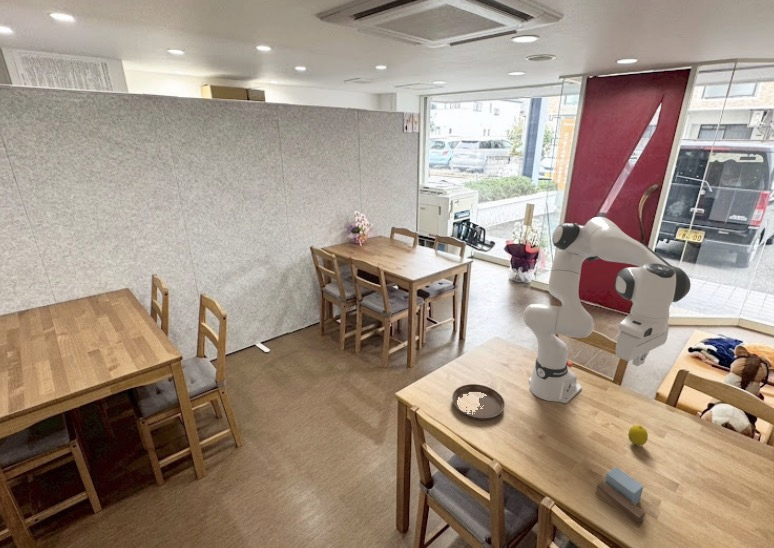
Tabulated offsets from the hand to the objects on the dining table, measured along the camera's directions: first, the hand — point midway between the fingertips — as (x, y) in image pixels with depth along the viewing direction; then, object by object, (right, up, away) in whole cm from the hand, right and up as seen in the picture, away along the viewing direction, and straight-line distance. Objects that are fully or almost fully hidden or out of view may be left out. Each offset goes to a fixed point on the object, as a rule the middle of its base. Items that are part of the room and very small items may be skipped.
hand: (637, 364), depth 110 cm
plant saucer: (-37, -28, +43) cm, 63 cm away
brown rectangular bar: (-6, -42, 0) cm, 42 cm away
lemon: (+14, -34, +22) cm, 42 cm away
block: (-3, -40, +4) cm, 41 cm away
